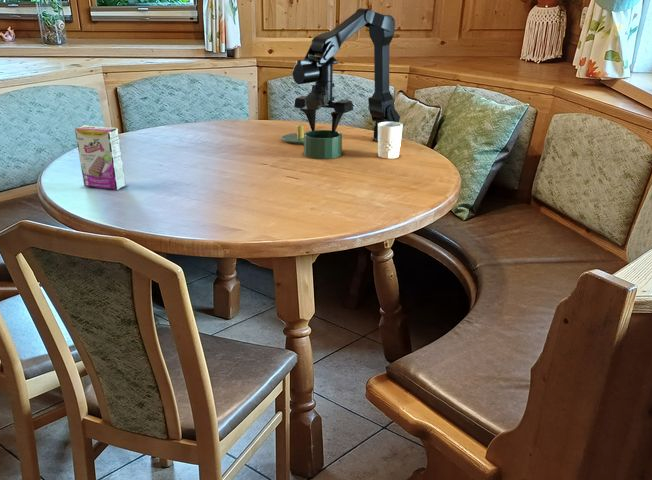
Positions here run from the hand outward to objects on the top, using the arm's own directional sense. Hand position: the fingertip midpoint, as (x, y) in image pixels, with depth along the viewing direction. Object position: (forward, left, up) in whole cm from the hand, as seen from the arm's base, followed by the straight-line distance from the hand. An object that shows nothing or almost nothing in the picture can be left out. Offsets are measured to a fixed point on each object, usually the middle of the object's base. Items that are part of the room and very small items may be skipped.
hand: (323, 132), depth 235 cm
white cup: (-20, -8, -7) cm, 23 cm away
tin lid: (+16, -13, -6) cm, 21 cm away
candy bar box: (+38, +62, -7) cm, 73 cm away
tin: (0, 0, -7) cm, 7 cm away
